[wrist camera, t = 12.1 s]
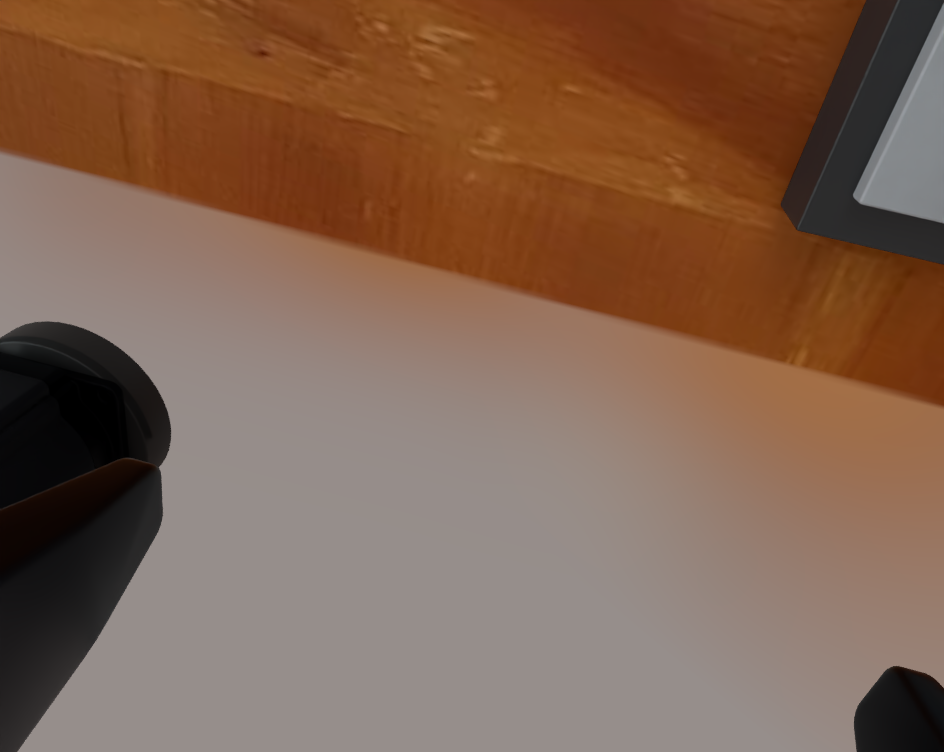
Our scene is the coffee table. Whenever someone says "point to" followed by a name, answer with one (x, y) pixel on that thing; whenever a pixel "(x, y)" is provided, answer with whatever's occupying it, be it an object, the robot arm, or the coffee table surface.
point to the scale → (880, 137)
